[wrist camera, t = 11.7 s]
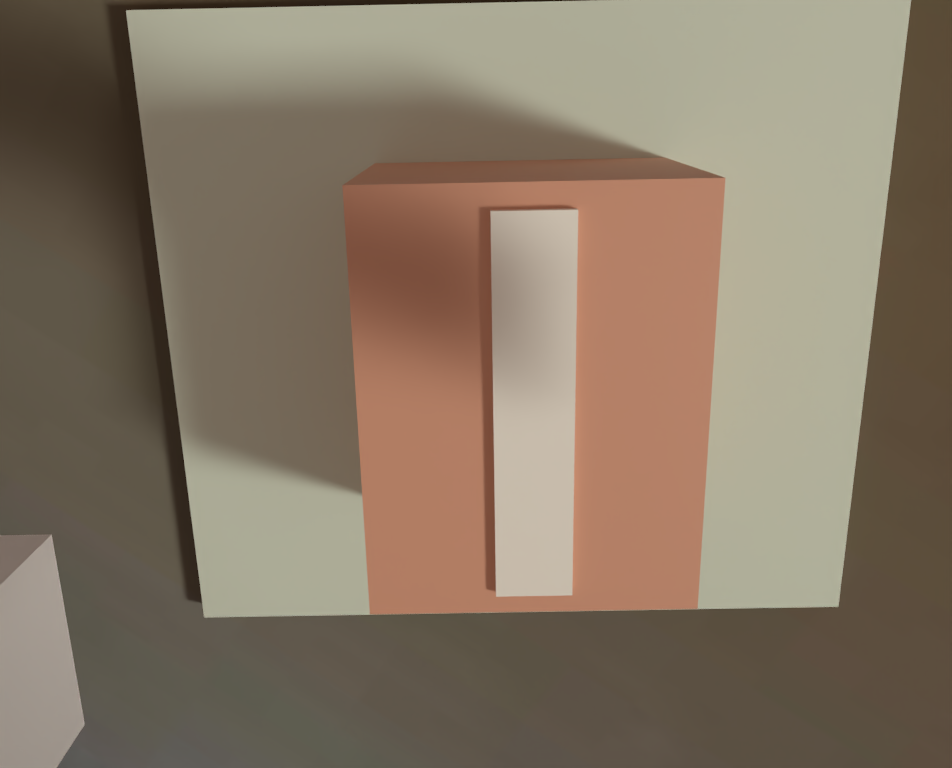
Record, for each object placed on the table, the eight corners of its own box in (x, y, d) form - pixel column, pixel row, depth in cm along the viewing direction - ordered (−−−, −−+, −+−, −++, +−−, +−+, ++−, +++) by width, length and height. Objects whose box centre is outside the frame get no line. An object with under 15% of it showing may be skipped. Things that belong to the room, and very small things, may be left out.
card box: (649, 498, 24) (699, 614, 19) (392, 503, 24) (368, 619, 19) (664, 157, 22) (728, 178, 16) (374, 163, 22) (341, 186, 16)
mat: (900, -4, 21) (911, -7, 20) (830, 595, 26) (838, 606, 25) (135, 12, 21) (125, 10, 21) (209, 606, 26) (204, 617, 26)
